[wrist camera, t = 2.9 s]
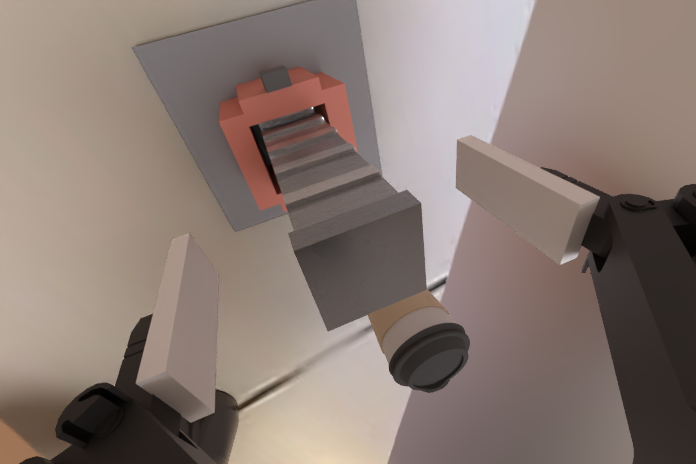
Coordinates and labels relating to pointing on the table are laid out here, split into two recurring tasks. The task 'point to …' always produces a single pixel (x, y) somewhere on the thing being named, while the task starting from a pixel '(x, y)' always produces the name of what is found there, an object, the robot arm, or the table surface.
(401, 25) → the table surface
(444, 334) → the coffee cup
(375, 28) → the table surface
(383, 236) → the column
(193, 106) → the stand
